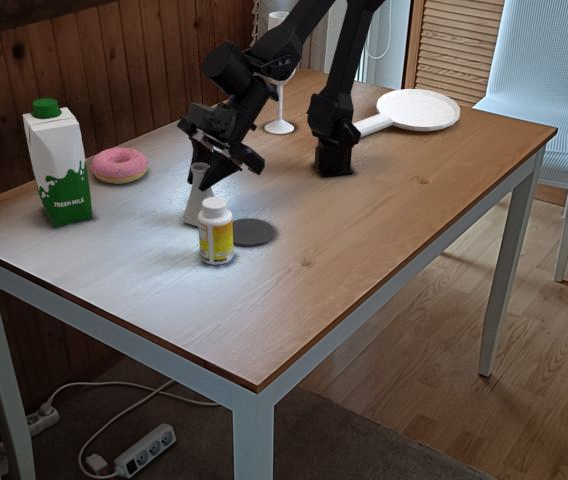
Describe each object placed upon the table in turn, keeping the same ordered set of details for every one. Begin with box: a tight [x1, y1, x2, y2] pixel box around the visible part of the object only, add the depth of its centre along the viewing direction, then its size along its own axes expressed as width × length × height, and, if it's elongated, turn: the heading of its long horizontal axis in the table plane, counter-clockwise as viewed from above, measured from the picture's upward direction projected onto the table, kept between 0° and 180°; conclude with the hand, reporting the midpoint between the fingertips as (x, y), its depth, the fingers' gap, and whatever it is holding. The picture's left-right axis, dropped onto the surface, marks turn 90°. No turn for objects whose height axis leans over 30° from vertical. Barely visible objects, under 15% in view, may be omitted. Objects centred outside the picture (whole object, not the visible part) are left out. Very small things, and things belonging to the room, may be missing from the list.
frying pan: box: [352, 88, 461, 139], centre depth 167 cm, size 35×19×5 cm, turn 128°
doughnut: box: [90, 146, 149, 185], centre depth 146 cm, size 11×11×4 cm
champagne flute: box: [264, 11, 297, 135], centre depth 160 cm, size 7×7×24 cm
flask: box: [183, 162, 216, 227], centre depth 131 cm, size 7×7×10 cm
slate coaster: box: [232, 218, 275, 248], centre depth 131 cm, size 9×9×1 cm
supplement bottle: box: [197, 196, 234, 265], centre depth 121 cm, size 6×6×10 cm
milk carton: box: [22, 97, 93, 228], centre depth 129 cm, size 9×9×20 cm
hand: (194, 186), depth 129 cm, fingers closed on flask, 3 cm apart
